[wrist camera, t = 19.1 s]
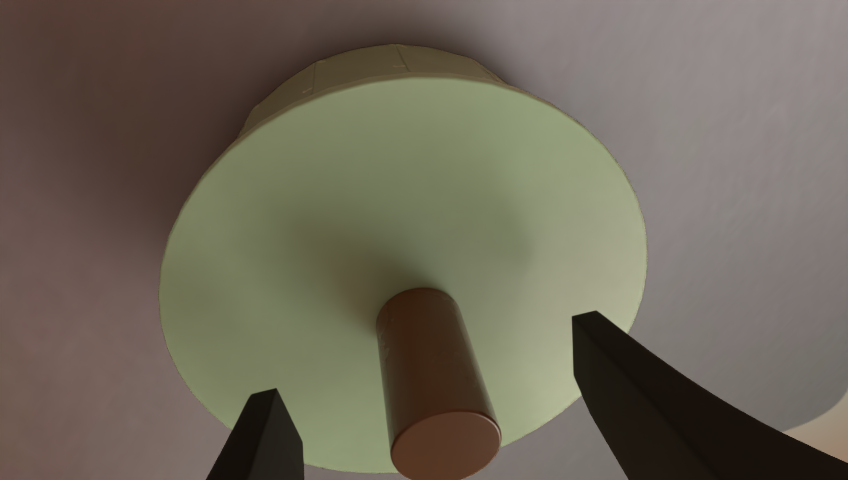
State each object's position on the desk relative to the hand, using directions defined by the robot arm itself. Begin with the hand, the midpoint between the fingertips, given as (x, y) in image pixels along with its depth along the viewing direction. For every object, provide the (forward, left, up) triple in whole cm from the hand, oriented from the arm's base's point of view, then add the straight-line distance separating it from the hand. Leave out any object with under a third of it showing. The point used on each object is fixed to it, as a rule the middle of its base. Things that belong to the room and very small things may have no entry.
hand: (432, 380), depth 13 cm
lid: (0, 0, -3) cm, 3 cm away
